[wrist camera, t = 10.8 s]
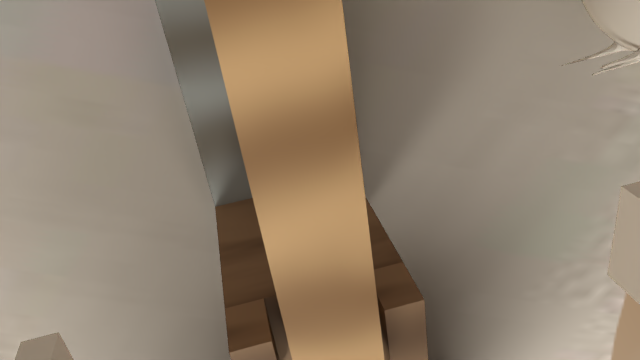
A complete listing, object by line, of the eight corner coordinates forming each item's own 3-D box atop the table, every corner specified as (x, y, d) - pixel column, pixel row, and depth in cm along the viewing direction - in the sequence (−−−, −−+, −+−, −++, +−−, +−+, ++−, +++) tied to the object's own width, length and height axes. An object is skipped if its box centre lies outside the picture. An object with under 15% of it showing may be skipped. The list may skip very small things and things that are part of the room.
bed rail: (360, 326, 30) (389, 400, 26) (290, 345, 30) (308, 424, 25) (261, -354, 16) (290, -440, 12) (124, -337, 15) (101, -420, 11)
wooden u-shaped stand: (356, 232, 41) (429, 382, 29) (233, 262, 40) (255, 432, 28) (281, -320, 25) (374, -516, 13) (72, -294, 24) (-47, -479, 12)
